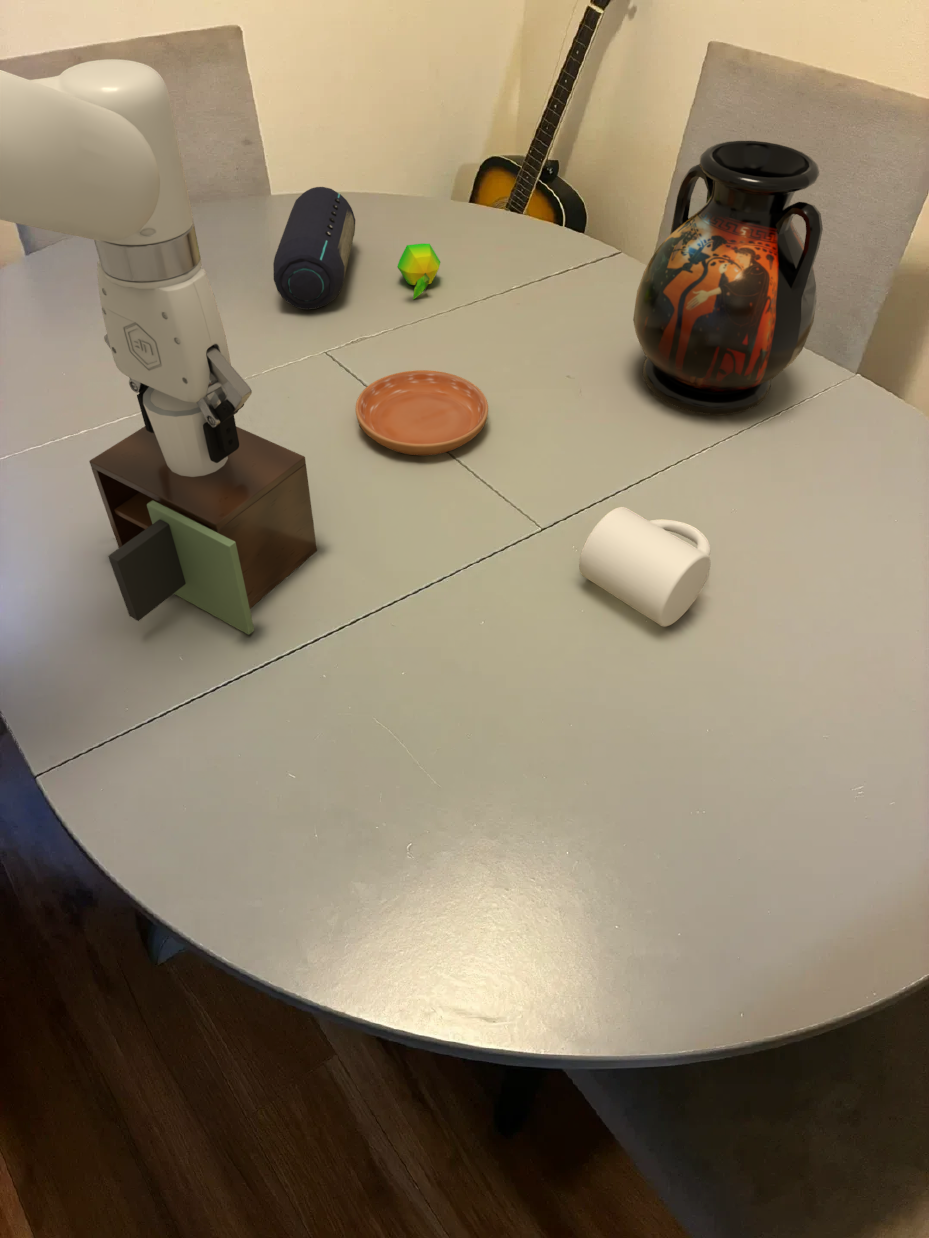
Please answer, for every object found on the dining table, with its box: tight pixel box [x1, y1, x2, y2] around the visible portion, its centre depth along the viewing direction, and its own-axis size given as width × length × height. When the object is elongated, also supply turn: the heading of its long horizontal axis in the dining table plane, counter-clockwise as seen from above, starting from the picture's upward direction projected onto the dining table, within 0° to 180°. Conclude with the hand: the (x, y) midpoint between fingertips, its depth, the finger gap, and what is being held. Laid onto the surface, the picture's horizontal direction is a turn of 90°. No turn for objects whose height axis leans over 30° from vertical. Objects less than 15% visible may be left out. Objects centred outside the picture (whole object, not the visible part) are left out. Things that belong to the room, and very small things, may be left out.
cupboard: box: [89, 425, 318, 609], centre depth 87 cm, size 12×16×12 cm
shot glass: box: [143, 379, 228, 477], centre depth 81 cm, size 7×7×7 cm
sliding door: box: [107, 500, 255, 636], centre depth 80 cm, size 7×10×11 cm
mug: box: [578, 506, 712, 627], centre depth 87 cm, size 12×10×8 cm
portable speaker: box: [272, 186, 356, 310], centre depth 131 cm, size 25×10×10 cm, turn 179°
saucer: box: [354, 369, 489, 457], centre depth 108 cm, size 16×16×3 cm
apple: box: [396, 243, 441, 301], centre depth 132 cm, size 7×6×9 cm
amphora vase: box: [632, 140, 824, 416], centre depth 107 cm, size 22×22×28 cm
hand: (192, 438), depth 81 cm, fingers open, 7 cm apart
